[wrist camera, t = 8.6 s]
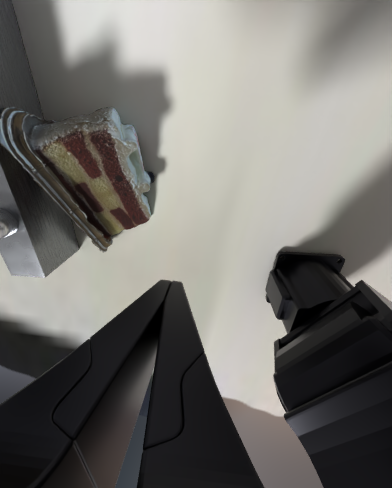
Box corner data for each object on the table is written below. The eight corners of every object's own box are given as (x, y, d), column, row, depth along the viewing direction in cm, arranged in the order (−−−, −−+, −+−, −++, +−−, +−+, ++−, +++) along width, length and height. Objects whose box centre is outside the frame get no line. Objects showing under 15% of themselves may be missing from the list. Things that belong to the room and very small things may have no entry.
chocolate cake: (175, 233, 21) (141, 138, 9) (108, 257, 20) (-16, 185, 9) (149, 164, 24) (100, 26, 12) (91, 183, 23) (-18, 56, 12)
